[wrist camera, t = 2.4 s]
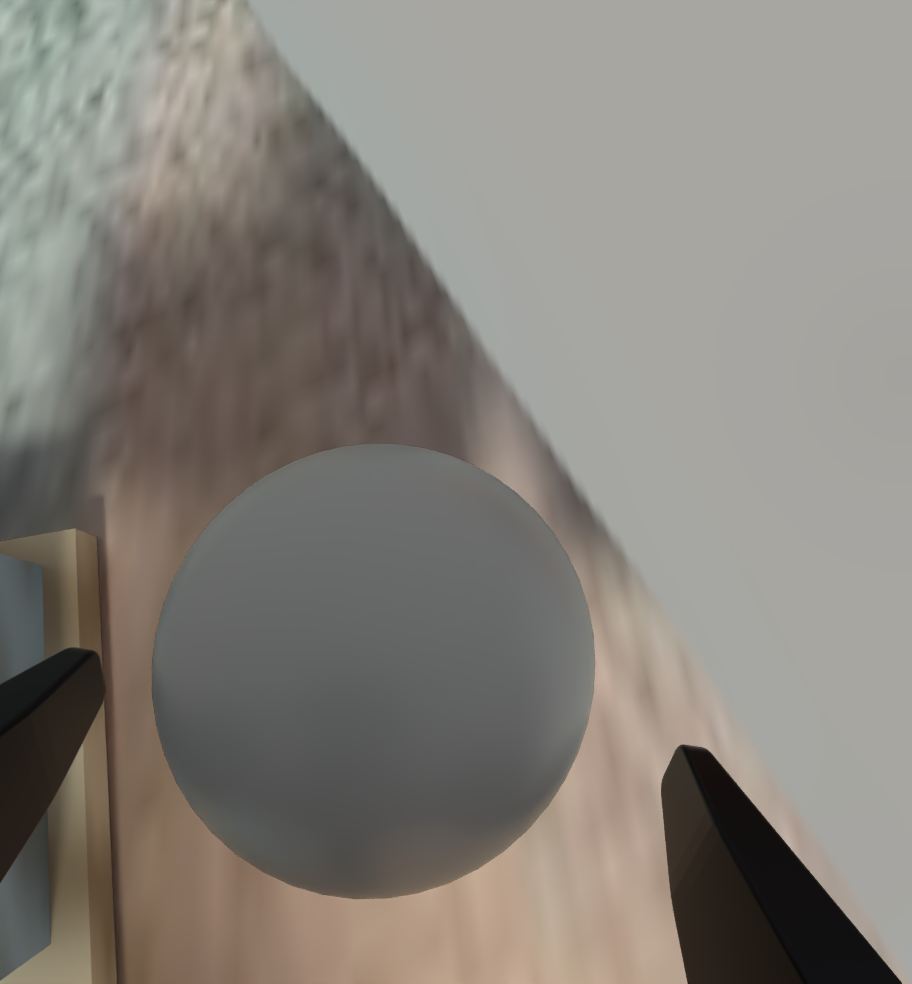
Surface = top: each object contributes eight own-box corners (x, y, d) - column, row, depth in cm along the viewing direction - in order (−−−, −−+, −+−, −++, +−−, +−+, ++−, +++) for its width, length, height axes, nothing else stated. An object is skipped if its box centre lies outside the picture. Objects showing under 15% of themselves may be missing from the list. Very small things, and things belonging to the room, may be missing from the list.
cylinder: (499, 729, 18) (745, 908, 4) (345, 763, 17) (51, 1089, 4) (468, 577, 19) (579, 328, 5) (323, 605, 18) (38, 412, 5)
